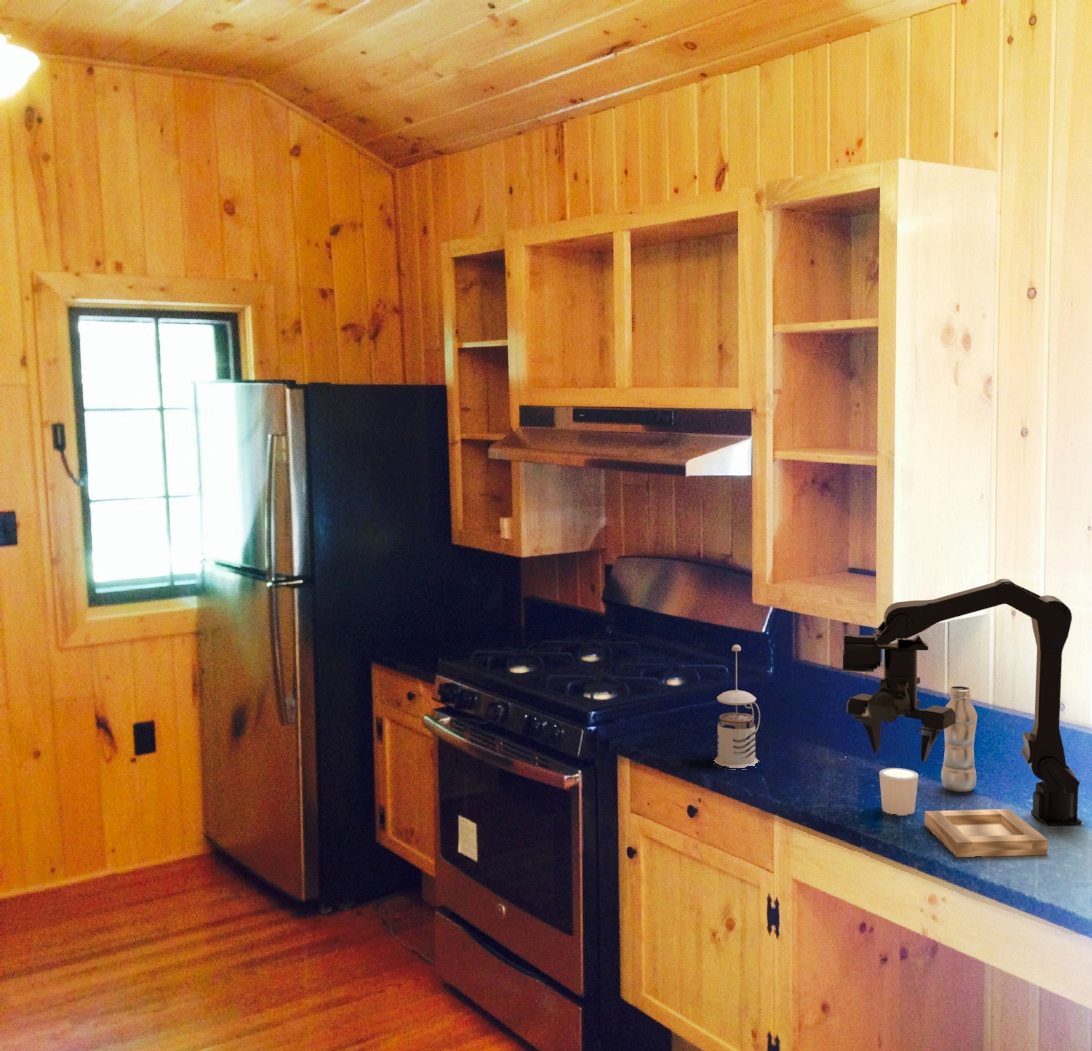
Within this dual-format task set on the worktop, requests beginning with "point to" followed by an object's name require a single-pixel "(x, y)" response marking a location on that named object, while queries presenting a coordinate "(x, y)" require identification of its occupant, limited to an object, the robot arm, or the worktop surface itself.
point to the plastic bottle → (960, 743)
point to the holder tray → (985, 833)
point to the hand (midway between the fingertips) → (899, 757)
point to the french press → (736, 729)
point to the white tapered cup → (898, 790)
